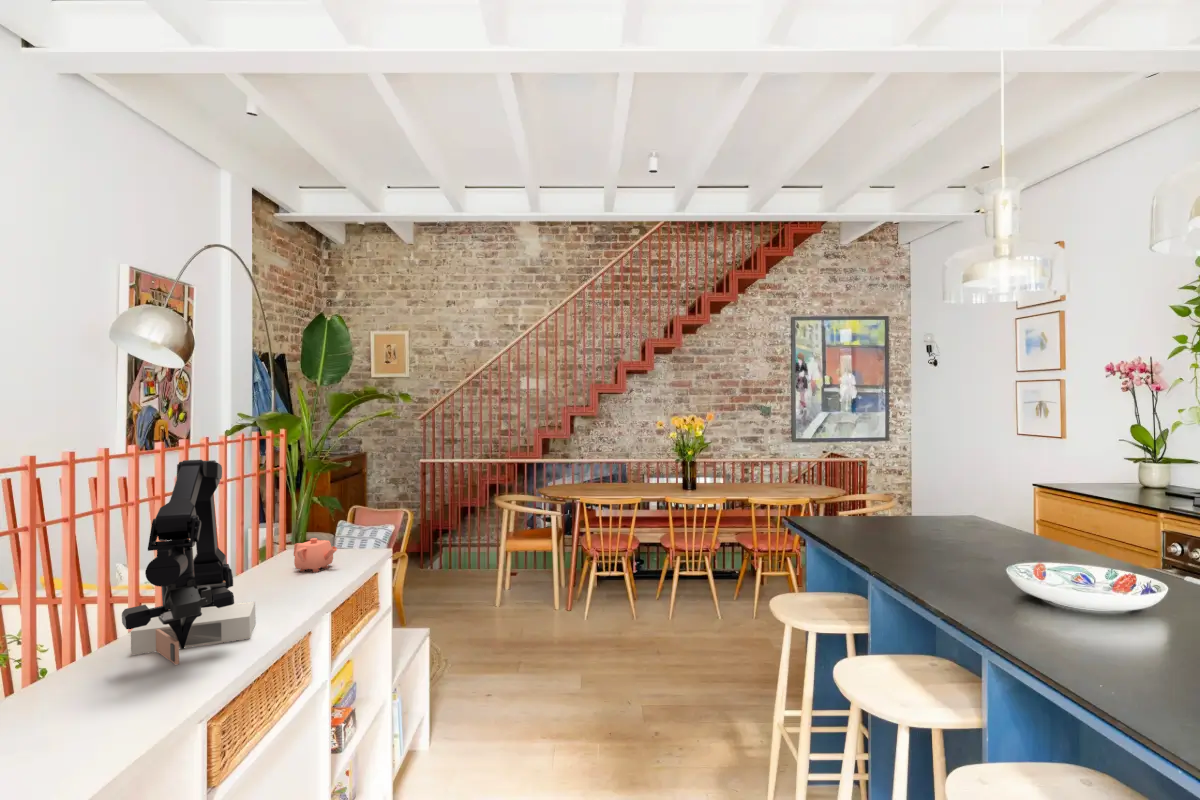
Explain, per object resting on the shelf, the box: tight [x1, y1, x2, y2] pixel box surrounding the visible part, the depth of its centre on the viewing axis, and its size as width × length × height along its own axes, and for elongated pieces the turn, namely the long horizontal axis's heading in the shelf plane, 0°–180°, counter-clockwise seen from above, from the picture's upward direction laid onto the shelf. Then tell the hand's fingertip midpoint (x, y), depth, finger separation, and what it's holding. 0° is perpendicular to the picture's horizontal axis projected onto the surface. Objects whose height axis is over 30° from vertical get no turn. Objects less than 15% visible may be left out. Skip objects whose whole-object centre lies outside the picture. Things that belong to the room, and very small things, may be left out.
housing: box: [130, 601, 257, 656], centre depth 147 cm, size 12×22×5 cm, turn 112°
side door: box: [156, 629, 180, 666], centre depth 135 cm, size 1×12×4 cm, turn 50°
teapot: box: [293, 537, 338, 573], centre depth 207 cm, size 12×12×10 cm
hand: (182, 648), depth 134 cm, fingers closed
